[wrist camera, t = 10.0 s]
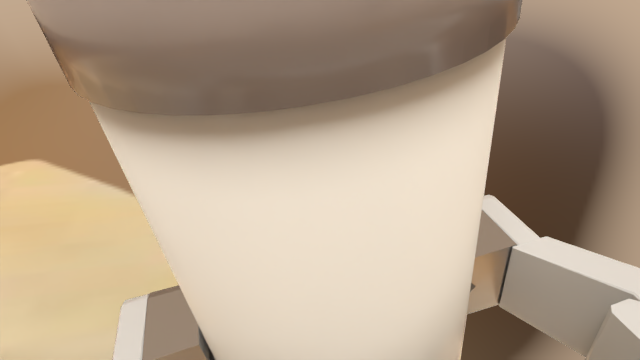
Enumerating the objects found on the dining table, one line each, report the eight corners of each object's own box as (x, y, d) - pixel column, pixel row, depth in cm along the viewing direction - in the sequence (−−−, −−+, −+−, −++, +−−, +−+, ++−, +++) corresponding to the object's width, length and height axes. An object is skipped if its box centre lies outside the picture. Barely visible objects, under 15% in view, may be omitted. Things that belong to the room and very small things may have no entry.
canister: (472, 555, 10) (700, -101, 2) (253, 552, 10) (-161, 16, 3) (429, 348, 14) (458, -103, 7) (278, 354, 15) (147, -58, 7)
